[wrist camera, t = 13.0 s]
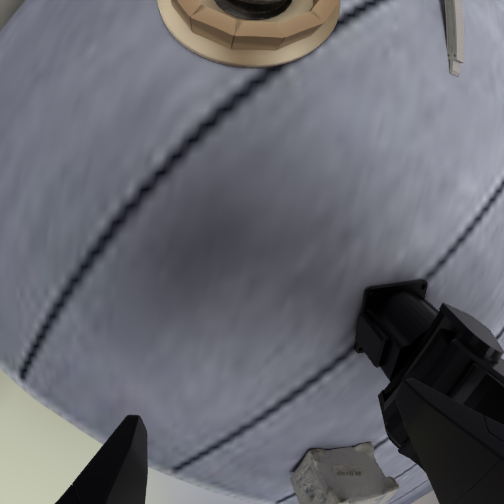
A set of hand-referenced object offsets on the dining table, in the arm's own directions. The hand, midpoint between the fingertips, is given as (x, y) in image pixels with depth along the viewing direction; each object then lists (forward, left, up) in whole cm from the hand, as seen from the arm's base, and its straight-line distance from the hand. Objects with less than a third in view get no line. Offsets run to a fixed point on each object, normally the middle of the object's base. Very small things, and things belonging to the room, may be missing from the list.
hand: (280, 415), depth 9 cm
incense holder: (-11, +29, -13) cm, 34 cm away
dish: (-1, -19, -13) cm, 23 cm away
